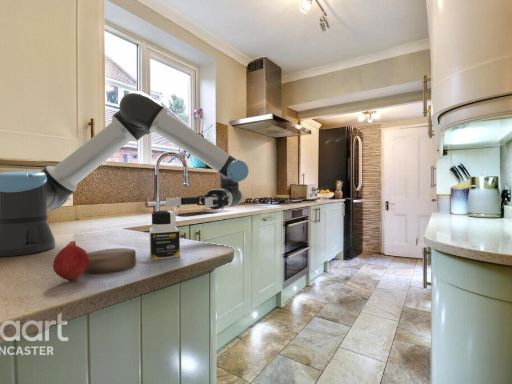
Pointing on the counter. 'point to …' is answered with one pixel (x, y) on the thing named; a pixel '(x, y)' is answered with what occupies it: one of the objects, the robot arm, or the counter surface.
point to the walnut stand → (111, 260)
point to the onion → (71, 262)
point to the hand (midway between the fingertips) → (186, 203)
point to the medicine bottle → (164, 235)
